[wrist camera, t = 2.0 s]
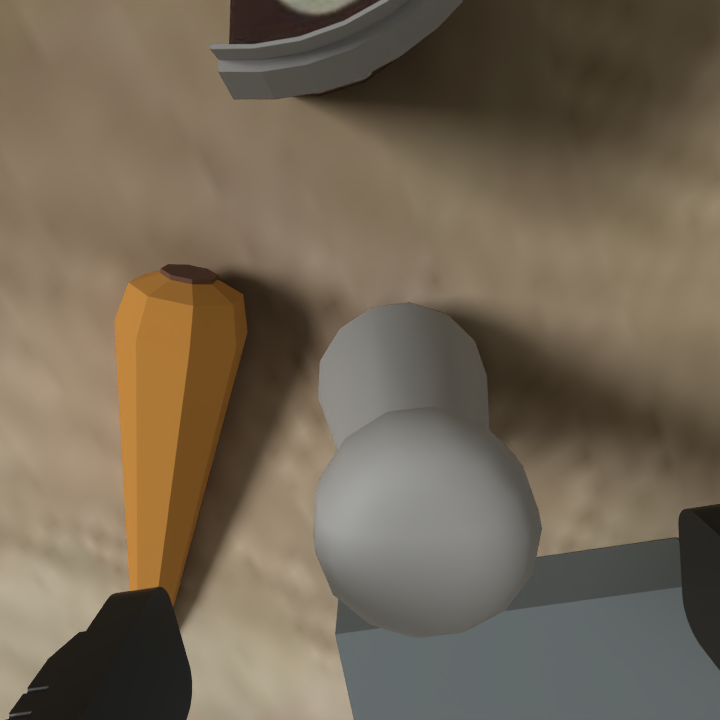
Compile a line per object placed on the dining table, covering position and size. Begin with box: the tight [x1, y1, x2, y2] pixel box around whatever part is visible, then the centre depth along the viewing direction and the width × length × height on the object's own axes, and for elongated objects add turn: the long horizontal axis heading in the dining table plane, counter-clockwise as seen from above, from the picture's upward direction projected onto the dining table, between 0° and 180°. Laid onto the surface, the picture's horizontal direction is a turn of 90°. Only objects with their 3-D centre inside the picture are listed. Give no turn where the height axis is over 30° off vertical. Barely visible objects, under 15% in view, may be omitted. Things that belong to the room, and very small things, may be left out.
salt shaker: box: [313, 302, 542, 638], centre depth 17 cm, size 6×6×13 cm
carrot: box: [115, 264, 248, 607], centre depth 24 cm, size 20×4×4 cm, turn 168°
